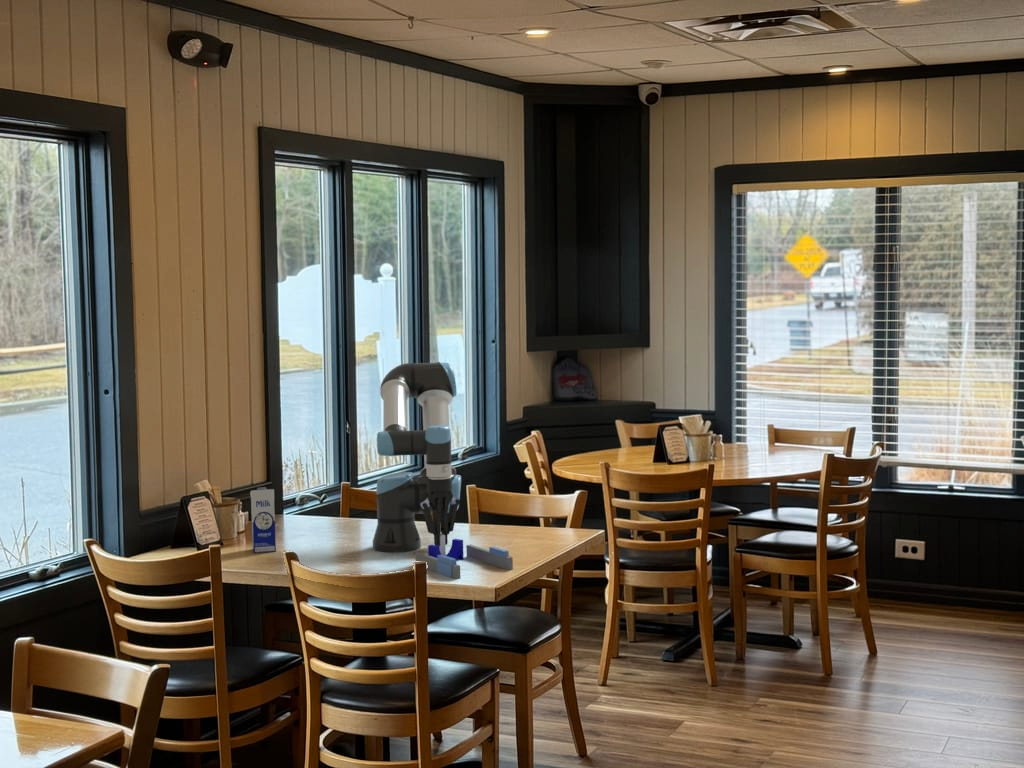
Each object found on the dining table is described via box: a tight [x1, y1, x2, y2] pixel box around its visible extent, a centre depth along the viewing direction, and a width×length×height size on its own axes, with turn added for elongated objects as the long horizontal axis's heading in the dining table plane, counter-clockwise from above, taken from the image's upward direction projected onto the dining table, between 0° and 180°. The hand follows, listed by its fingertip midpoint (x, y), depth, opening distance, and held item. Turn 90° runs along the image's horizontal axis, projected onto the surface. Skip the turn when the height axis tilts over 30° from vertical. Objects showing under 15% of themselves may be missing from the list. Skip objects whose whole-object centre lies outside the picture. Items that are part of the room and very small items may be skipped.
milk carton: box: [249, 486, 277, 554], centre depth 377 cm, size 7×7×20 cm
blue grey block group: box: [415, 544, 514, 580], centre depth 347 cm, size 23×19×5 cm
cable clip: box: [427, 538, 464, 562], centre depth 354 cm, size 12×4×6 cm, turn 141°
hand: (441, 556), depth 358 cm, fingers closed
